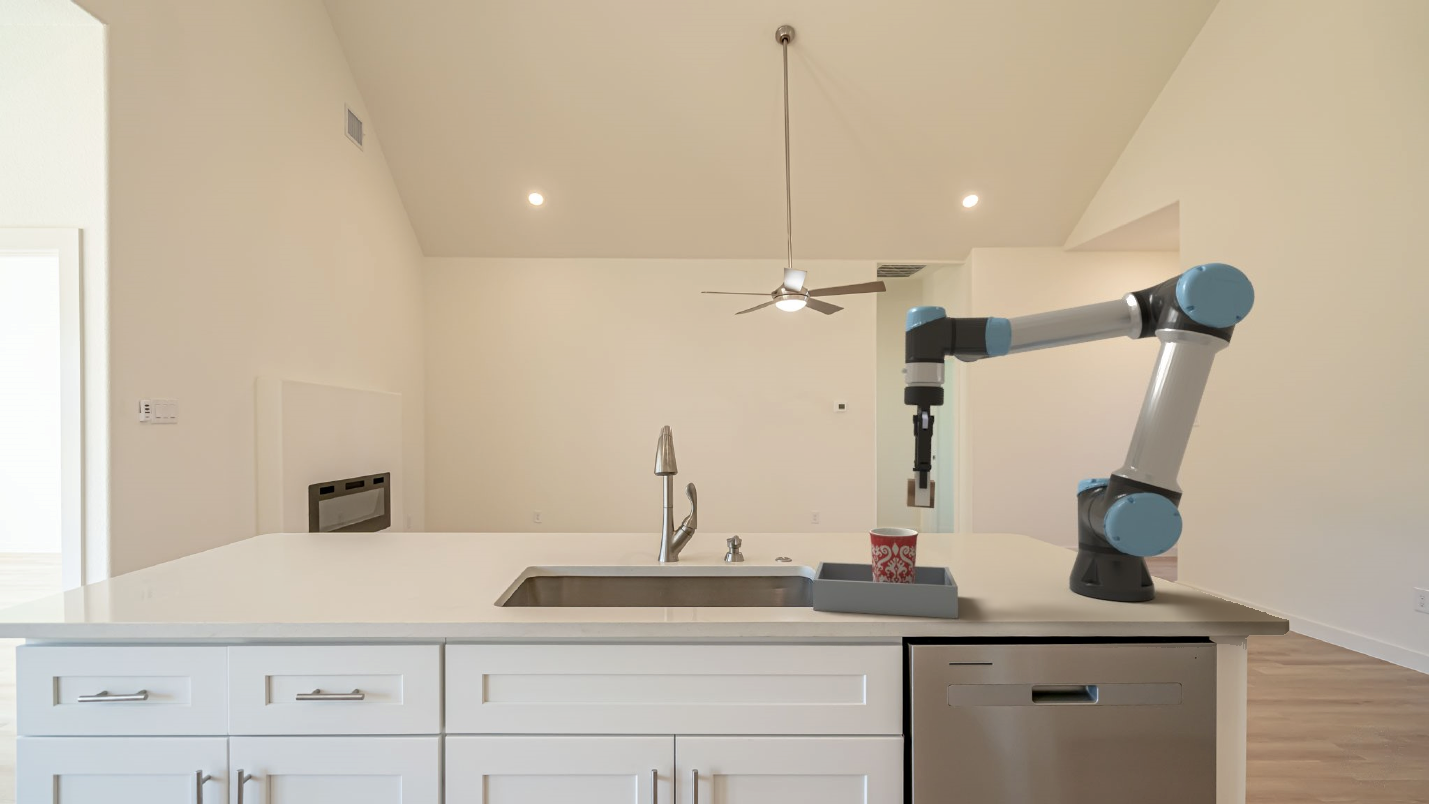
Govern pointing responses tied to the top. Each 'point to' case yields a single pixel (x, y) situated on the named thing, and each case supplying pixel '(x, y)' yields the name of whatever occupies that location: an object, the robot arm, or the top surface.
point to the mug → (893, 554)
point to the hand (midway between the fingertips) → (921, 503)
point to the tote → (884, 591)
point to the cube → (911, 494)
